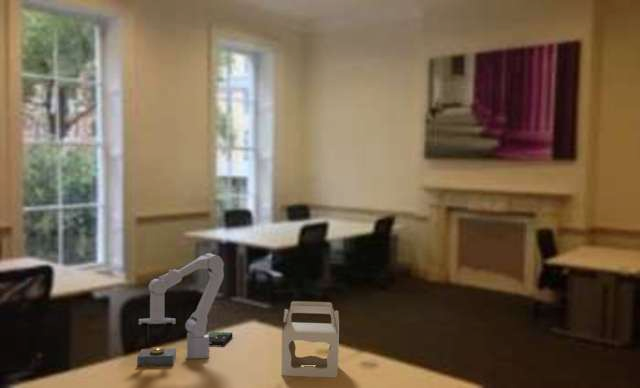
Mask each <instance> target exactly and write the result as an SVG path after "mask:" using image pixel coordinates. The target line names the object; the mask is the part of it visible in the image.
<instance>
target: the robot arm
mask: <svg viewBox="0 0 640 388" xmlns="http://www.w3.org/2000/svg"><path fill="white" fill-rule="evenodd" d="M224 266H225V262H224V261H223V258H222V257H221V256H219V255H216V254H213V253H210V252H207V253H205V254H203V255H200V256H199V257H197V258H196V259H194V260H192V261H191V262H190V263H188V264H186V265H185V266H182V267H181V268H179V269H169V270H168V272H167V273H165V274H163V275H160V276H158V278H154V279H152V280H151V281H150V282H149V284H148V287H147V288H148V290H149V292H150V295H149V296H150V297H149V317H148V318H139V319H138V325H140V327H141V330H142V331H143V333H144V337H145V341H146V343H148V342H149V341H150V335H149V333H150V332H149V331H150V325H161V324H162V325H165V340H164V341H165V342H168V341H169V336H170V332H171V330H172V327H173V325H176V324H177V323H176V318H173V317H172V318H171V317H165V302H166V301H165V293H166V292H167V290H168V289H170V288H171V287H173V286H175V285H177V284H178V283H180V282H182V279H183V277H186V276H187V275H189V274H192V273H194V272H195V271H197V270H199V269H201V270H207V272H208V275H209V280H208V282H207V284H206V286H205V289H204V291H203V293H202V296H201V298H200V300H199V302H198V305H197V307H196V309H195V311H193V312H192V314H191V315H190V317H189V318H187V320H186V322H185V325H184V328H185V330H186V331H187V333H186V354H185V357H184V359H186V360H187V359H209V354H210V352H211V351H210V345H209V334H206V332H207V324H208V323H209V322H208V320H209V319H208V314H209V312H210V310H211V308H212V306H213V303H214V301H215V299H216V296H217V295H218V292H219V289H220V287H221V285H222V283H223V280H224V276H225V273H224Z"/></svg>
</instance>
